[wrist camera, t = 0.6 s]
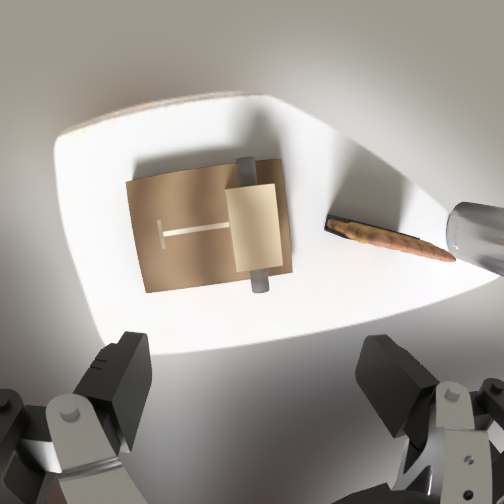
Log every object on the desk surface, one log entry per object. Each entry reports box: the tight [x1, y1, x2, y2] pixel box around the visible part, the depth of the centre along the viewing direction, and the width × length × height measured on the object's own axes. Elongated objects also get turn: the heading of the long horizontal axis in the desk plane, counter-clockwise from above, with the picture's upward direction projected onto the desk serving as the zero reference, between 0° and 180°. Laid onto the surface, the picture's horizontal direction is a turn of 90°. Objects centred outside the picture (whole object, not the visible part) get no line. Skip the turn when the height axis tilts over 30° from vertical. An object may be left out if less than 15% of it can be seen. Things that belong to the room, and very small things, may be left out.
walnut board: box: [126, 159, 293, 293], centre depth 28 cm, size 16×12×2 cm
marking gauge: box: [225, 157, 283, 293], centre depth 25 cm, size 4×12×5 cm, turn 6°
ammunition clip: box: [324, 215, 456, 262], centre depth 25 cm, size 11×2×12 cm, turn 79°
